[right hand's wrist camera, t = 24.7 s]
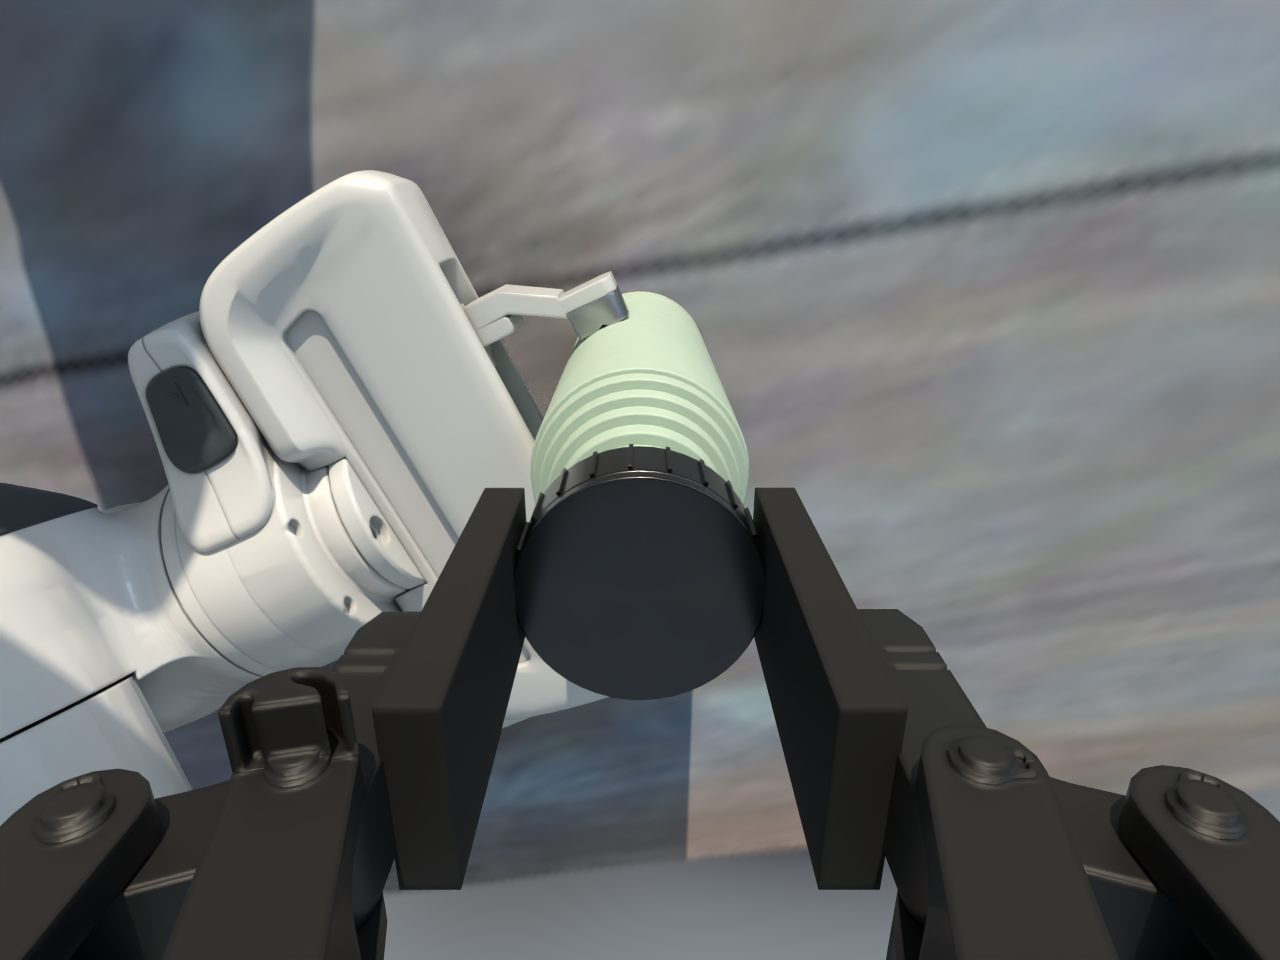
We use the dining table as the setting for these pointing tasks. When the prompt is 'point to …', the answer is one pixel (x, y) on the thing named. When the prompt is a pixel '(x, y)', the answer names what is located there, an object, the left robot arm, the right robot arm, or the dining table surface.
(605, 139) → the dining table surface
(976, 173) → the dining table surface
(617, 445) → the bottle
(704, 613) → the cap
